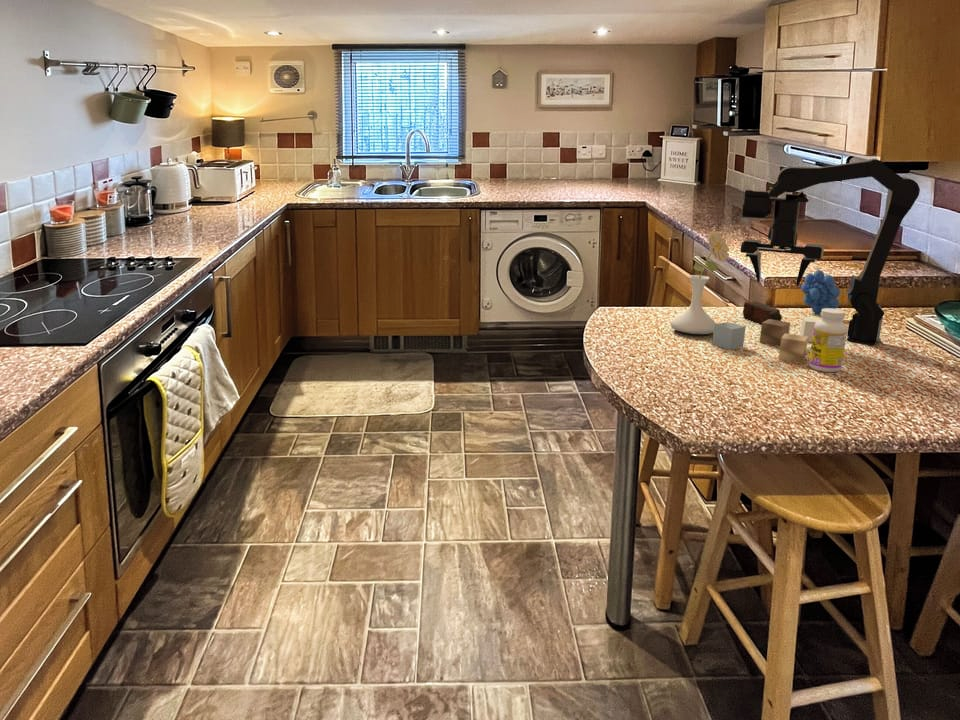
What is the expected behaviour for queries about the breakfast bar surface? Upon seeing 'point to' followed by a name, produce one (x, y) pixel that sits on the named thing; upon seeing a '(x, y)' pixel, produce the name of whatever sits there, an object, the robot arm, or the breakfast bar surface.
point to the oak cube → (793, 348)
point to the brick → (760, 312)
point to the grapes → (820, 292)
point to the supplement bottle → (828, 341)
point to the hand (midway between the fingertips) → (778, 283)
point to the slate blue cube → (728, 335)
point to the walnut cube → (773, 331)
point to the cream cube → (808, 327)
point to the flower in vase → (695, 316)
